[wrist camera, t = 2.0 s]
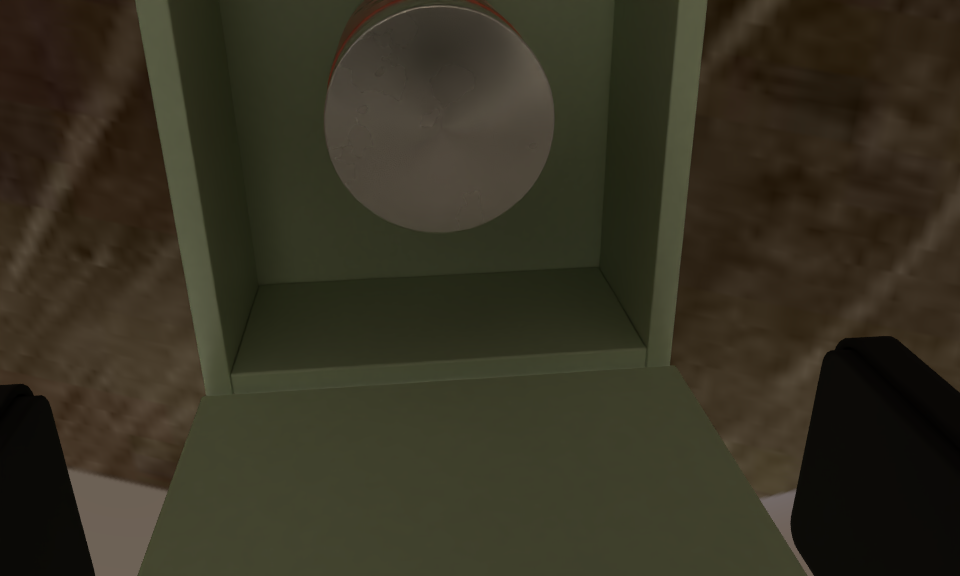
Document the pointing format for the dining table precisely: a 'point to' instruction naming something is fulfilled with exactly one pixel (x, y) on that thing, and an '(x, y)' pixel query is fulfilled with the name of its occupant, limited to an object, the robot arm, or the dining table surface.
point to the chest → (409, 254)
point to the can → (436, 113)
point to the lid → (465, 483)
